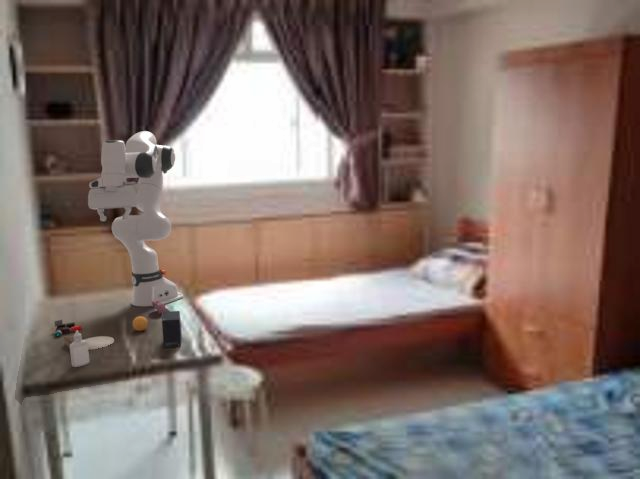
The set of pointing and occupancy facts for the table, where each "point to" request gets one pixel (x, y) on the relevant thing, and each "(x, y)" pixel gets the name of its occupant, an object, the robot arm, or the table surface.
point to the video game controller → (159, 306)
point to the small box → (171, 329)
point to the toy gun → (65, 328)
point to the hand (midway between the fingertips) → (114, 220)
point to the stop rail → (68, 340)
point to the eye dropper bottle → (79, 351)
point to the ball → (140, 323)
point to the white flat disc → (99, 342)
